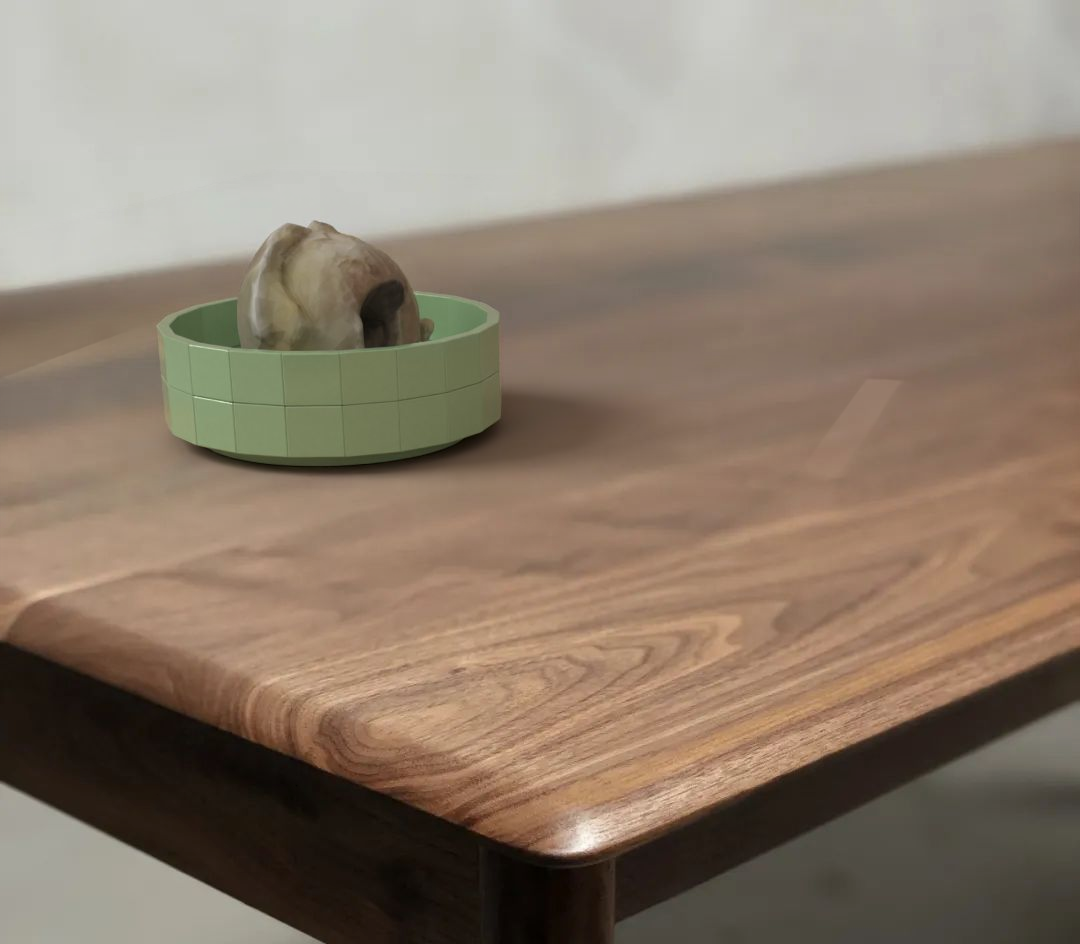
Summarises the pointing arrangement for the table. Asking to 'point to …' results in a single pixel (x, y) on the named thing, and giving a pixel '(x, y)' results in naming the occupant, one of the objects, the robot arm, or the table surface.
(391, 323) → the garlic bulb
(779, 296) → the table surface
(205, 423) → the bowl
